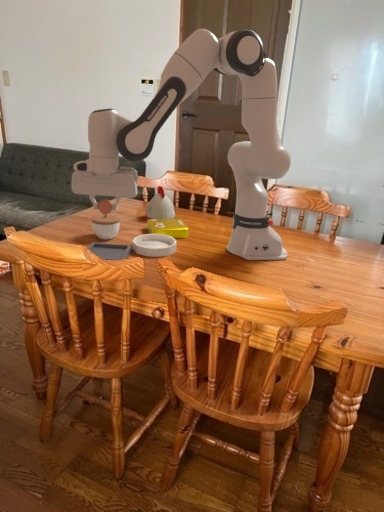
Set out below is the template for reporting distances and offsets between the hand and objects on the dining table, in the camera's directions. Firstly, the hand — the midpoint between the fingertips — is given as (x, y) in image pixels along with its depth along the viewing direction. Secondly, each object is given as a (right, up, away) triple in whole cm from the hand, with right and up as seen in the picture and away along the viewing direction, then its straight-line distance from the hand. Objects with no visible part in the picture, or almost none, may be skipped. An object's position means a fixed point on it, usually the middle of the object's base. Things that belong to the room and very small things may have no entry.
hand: (105, 209), depth 113 cm
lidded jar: (-6, -8, +24) cm, 26 cm away
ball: (0, +1, 0) cm, 1 cm away
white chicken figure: (+13, +2, +52) cm, 53 cm away
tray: (-1, -15, +6) cm, 17 cm away
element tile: (+18, -6, +34) cm, 38 cm away
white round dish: (+14, -12, +16) cm, 25 cm away
